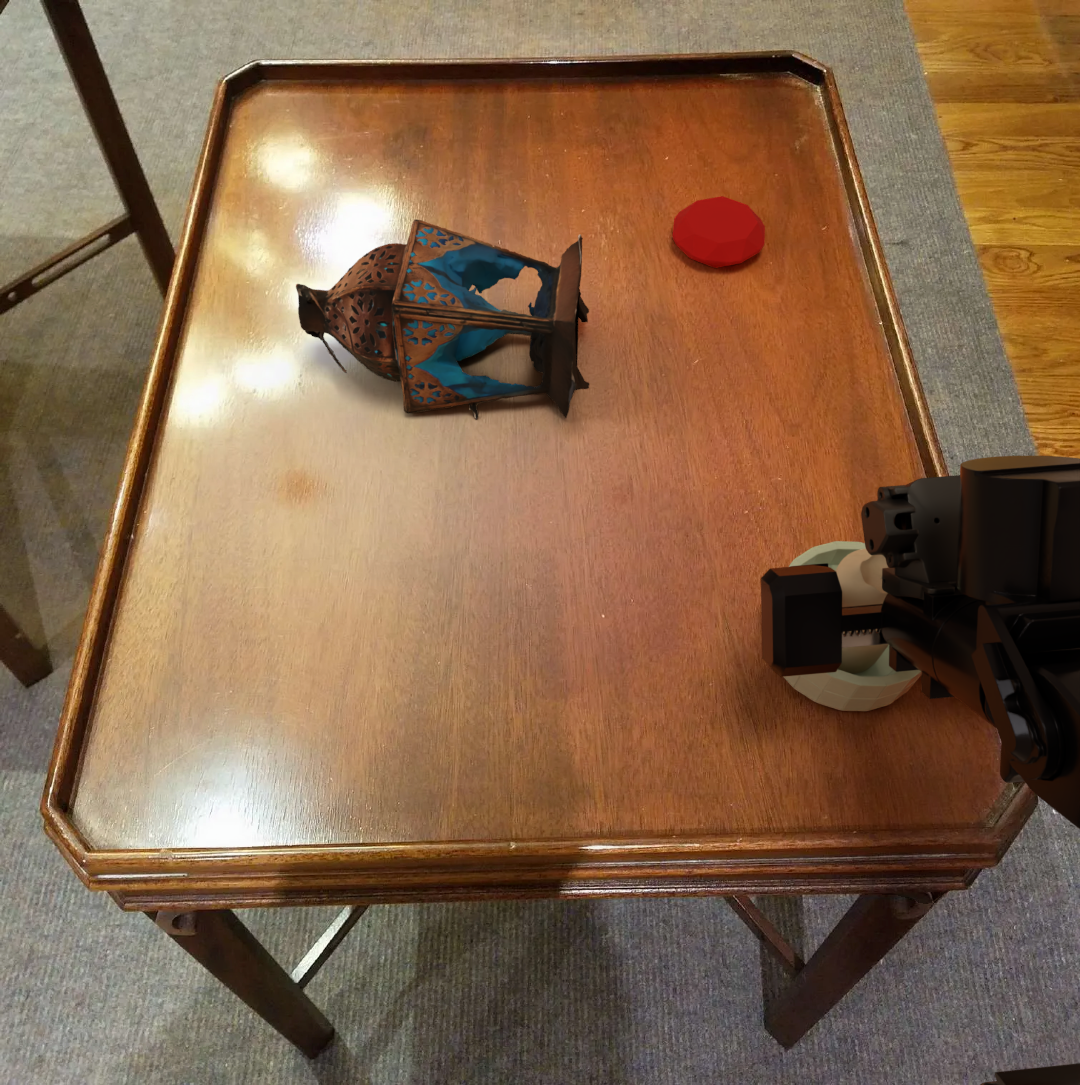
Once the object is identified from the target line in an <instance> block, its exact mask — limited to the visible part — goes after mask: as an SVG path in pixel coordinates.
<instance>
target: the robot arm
mask: <svg viewBox="0 0 1080 1085" xmlns="http://www.w3.org/2000/svg"><path fill="white" fill-rule="evenodd" d="M959 466H960V469H959V474H957V475H945V476H944V475H943V476H932V477H931V476H930V477H920V478H918V479H915V480H913V481H911V482H909V483H906V484H900V485H898V484H897V485H888V486H887V485H886V486H879V487H878V488H877V491H876V492H877V493H876V496H877V499H876V500H871V501H869V502H866V503H864V504H863V505H862V507H861V512H860V516H861V524H862V526H861V527H862V534H863V540H864V541H863V542H864V543H865V548H866V550H867V551H868V553H869V554H870V555H883V556H884V557H885V559H886V563H887V566H888V567H889V568H882V589H883V591H885V592H887V593H888V594H887V595H886V597H885V599H884V601H883V604H872V605H860V606H849V607H842V589H841V585H840V582H839V579H838V576H837V572H836V571H835V570H833V569H832V568H830V567H828V563H823V564H811V565H799V566H790V567H788V566H784V567H772V568H771V567H770V568H768V570H767V571H766V572H765V573H764V574H763V575H762V576H761V578H760V600H761V601H760V611H761V612H760V613H761V618H760V619H761V659H762V660H763V661H764V663H766V665H767V666H768V667H769V669H771V670H772V671H773V672H774V673H776V674H777V675H778V676H779V677H780V678H784V677H785V676H796V675H808V674H819V673H830V672H836V671H837V670H838V668H839V666H840V665H841V663H842V648H847V647H858V646H870V645H881V644H889V666H890V667H891V668H892V669H893V670H895V671H896V672H901V671H912V670H920V671H921V672H922V675H921V686H920V687H921V690H920V692H921V693H922V694H923V695H924V696H925V697H927V698H928V699H929V700H935V699H947V698H955V699H957V700H958V701H960V702H961V703H962V704H963V705H965V706H966V707H967V708H969V710H971V711H972V712H974V713H975V714H976V715H978V716H979V717H981V718H982V719H983V720H984V721H986V722H987V723H988V724H990V725H991V727H994V728H995V729H996V730H997V734H998V736H999V739H1000V759H999V760H1000V761H999V776H1000V778H1001V780H1002V781H1003V782H1005V783H1007V784H1009V783H1023V782H1024V783H1025V784H1026V785H1027V787H1028V788H1029V789H1030V790H1031V791H1032V792H1033V794H1035V795H1036V796H1037V797H1038V798H1039V799H1041V800H1042V801H1043V802H1045V804H1047V805H1048V806H1049V807H1051V808H1052V809H1053V810H1054V811H1056V812H1057V813H1058V814H1060V815H1061V816H1062V817H1063V818H1064V819H1066V820H1067V821H1069V822H1070V823H1071V824H1072V825H1073V826H1075V827H1076V828H1077V829H1079V830H1080V458H1079V457H1070V456H1058V455H1000V456H998V455H997V456H988V457H980V458H979V457H978V458H974V459H968V460H966V461H963V462H961V463H960V465H959ZM876 629H877V631H876ZM863 630H864V632H863ZM869 630H870V631H869ZM849 631H851V634H850V632H849ZM856 631H858V632H856ZM843 632H845V633H844V634H843ZM994 1078H995V1080H993V1081H992V1080H991V1081H985V1082H981V1083H980V1084H979V1085H1080V1062H1078V1063H1077V1062H1076V1063H1068V1064H1060V1065H1059V1064H1058V1065H1050V1066H1040V1067H1031V1068H1021V1069H1020V1068H1019V1069H1013V1070H1012V1069H1011V1070H1003V1071H995V1072H994Z"/></svg>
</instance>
